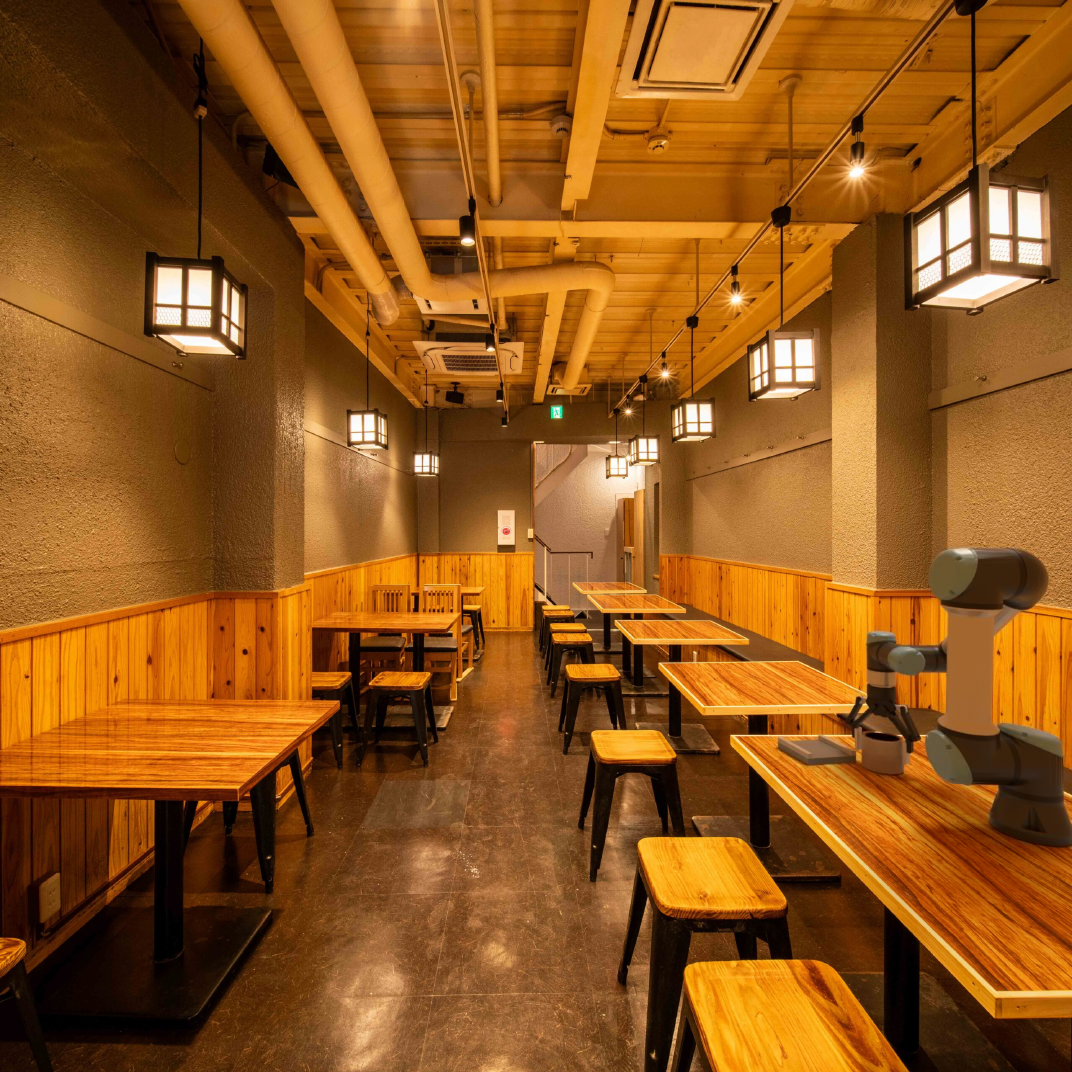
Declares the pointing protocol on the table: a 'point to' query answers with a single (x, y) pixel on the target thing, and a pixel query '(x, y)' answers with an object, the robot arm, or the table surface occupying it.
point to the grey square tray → (818, 751)
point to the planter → (882, 752)
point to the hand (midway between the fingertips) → (881, 756)
